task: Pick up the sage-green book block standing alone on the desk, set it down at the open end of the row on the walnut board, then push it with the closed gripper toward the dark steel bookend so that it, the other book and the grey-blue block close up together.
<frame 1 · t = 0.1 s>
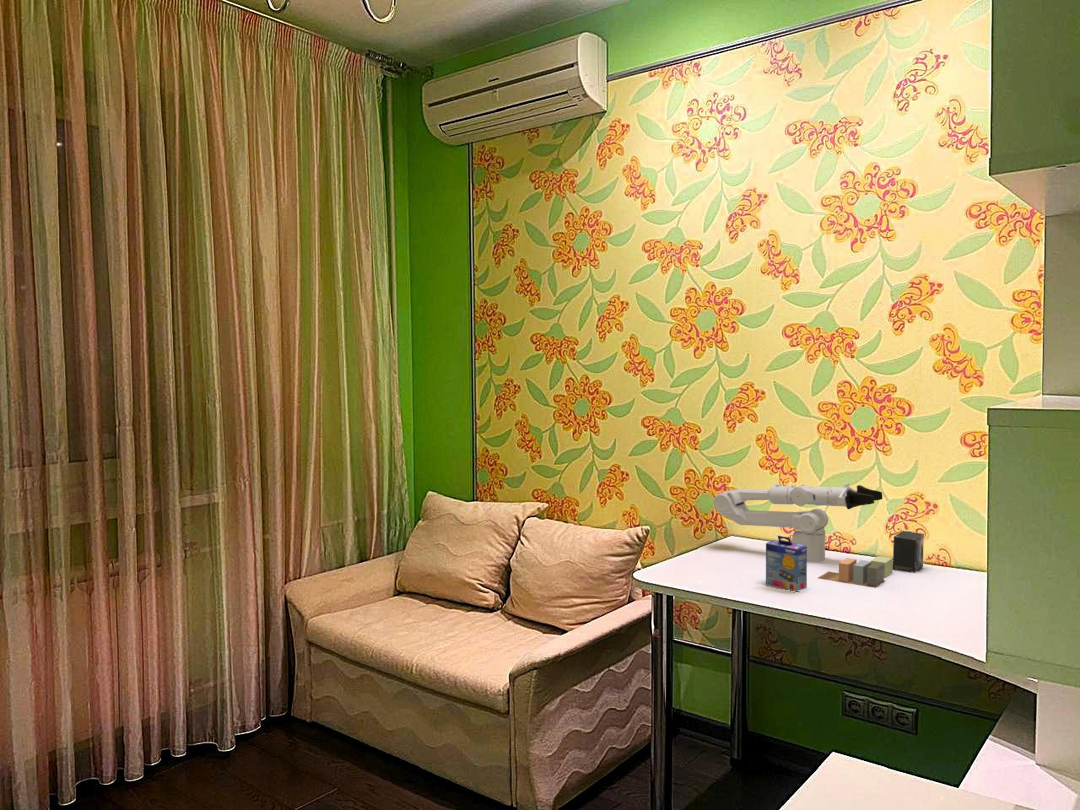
hand: (877, 497, 242), 22 cm above the table, tool horizontal, fingers open, 7 cm apart
steel bookend: (875, 583, 228), point 1 cm above the table, touching walnut board
sage book: (881, 576, 237), on the table
terracotta book: (847, 578, 233), point 1 cm above the table, touching walnut board
small box: (908, 570, 244), on the table
ink cartridge box: (785, 588, 226), on the table
walnut board: (851, 581, 232), on the table
grey-blue block: (862, 581, 230), point 1 cm above the table, touching walnut board
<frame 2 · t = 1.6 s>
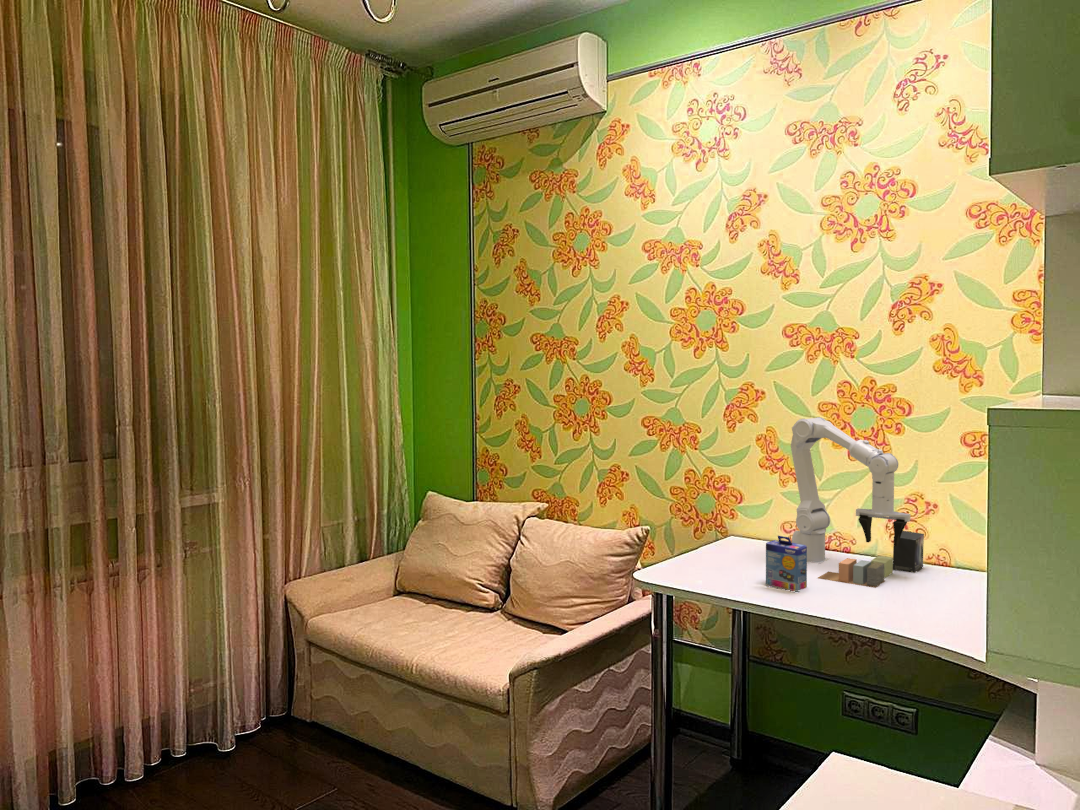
hand: (882, 543, 237), 9 cm above the table, tool pointing down, fingers open, 7 cm apart
nothing on the table moved.
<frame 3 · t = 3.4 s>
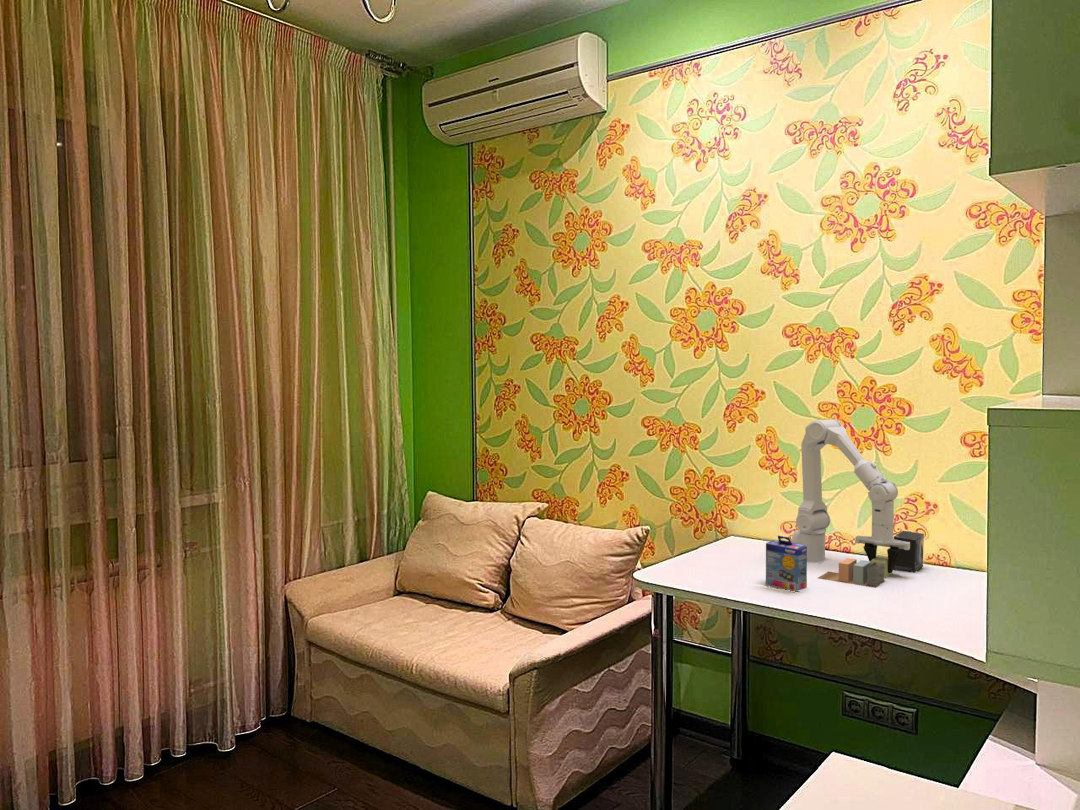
hand: (881, 571, 237), 1 cm above the table, tool pointing down, fingers closed on sage book, 4 cm apart
sage book: (881, 576, 237), on the table, touching gripper
everything else where it was.
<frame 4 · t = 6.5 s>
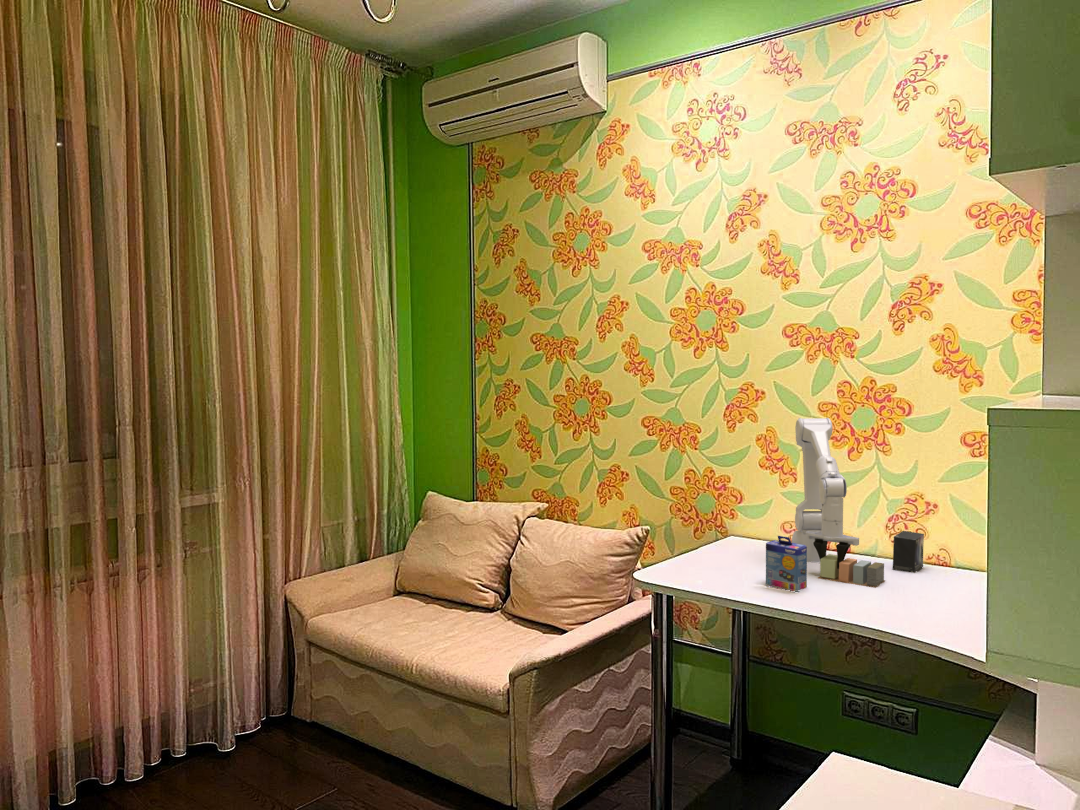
hand: (831, 567, 235), 3 cm above the table, tool pointing down, fingers closed on sage book, 4 cm apart
sage book: (831, 574, 236), point 1 cm above the table, touching gripper
terracotta book: (847, 578, 233), point 1 cm above the table, touching gripper, walnut board
everything else where it was.
when the fingers open (3 cm above the table, at t = 7.4 s): sage book stays where it is, resting on walnut board.
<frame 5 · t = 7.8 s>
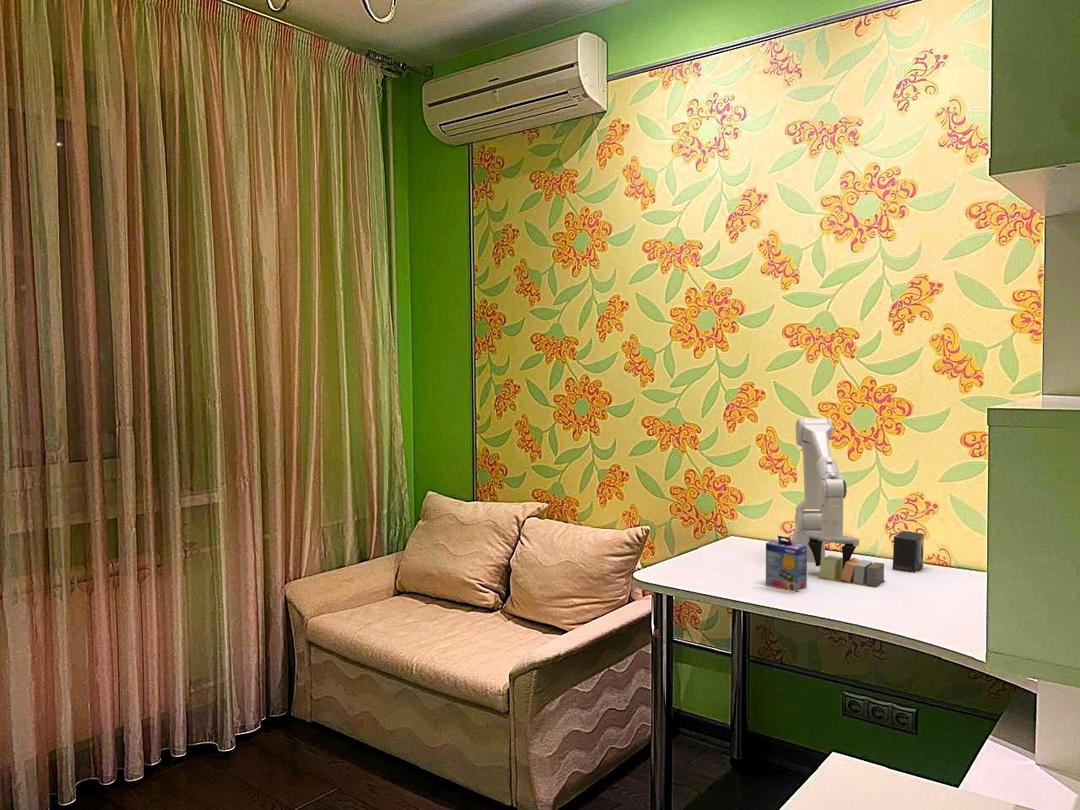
hand: (831, 567, 235), 3 cm above the table, tool pointing down, fingers open, 7 cm apart
sage book: (831, 576, 236), point 1 cm above the table, touching walnut board
terracotta book: (849, 577, 232), point 1 cm above the table, tilted 15°, touching grey-blue block, gripper, walnut board
grey-blue block: (862, 580, 230), point 1 cm above the table, touching terracotta book, walnut board
everything else where it was.
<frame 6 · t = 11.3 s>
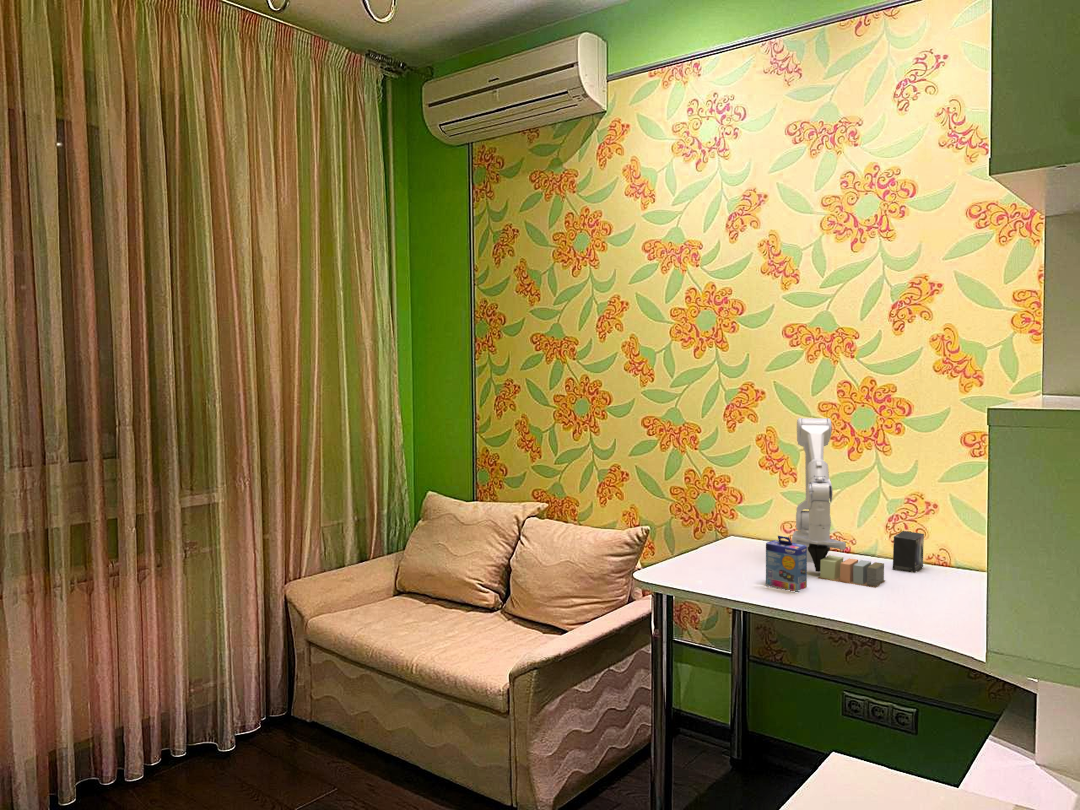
hand: (818, 570, 238), 2 cm above the table, tool pointing down, fingers closed, pressing on sage book
sage book: (831, 576, 236), point 1 cm above the table, touching gripper, walnut board
terracotta book: (849, 579, 232), point 1 cm above the table, touching walnut board
grey-blue block: (862, 581, 230), point 1 cm above the table, touching walnut board
everything else where it was.
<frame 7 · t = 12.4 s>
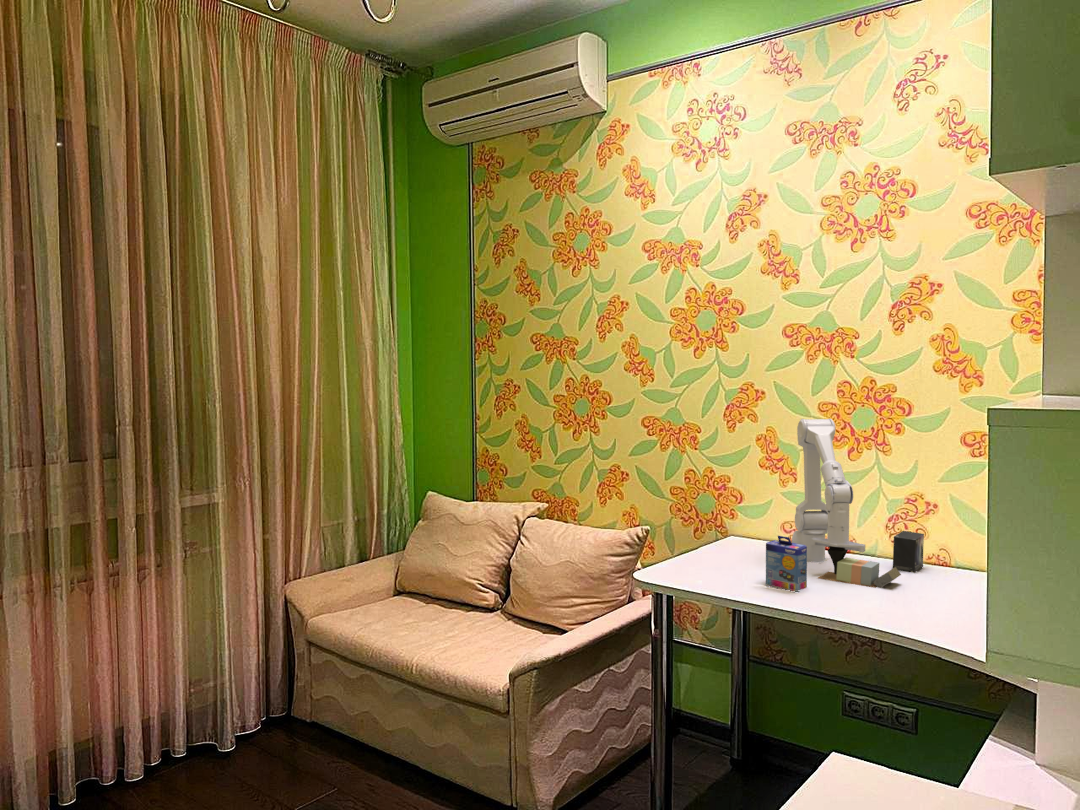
hand: (837, 573, 234), 2 cm above the table, tool pointing down, fingers closed
steel bookend: (879, 582, 227), point 1 cm above the table, tilted 51°, touching walnut board
sage book: (847, 578, 233), point 1 cm above the table, touching gripper, terracotta book, walnut board
terracotta book: (859, 580, 230), point 1 cm above the table, touching grey-blue block, sage book, walnut board
grey-blue block: (869, 582, 229), point 1 cm above the table, touching terracotta book, walnut board
everything else where it was.
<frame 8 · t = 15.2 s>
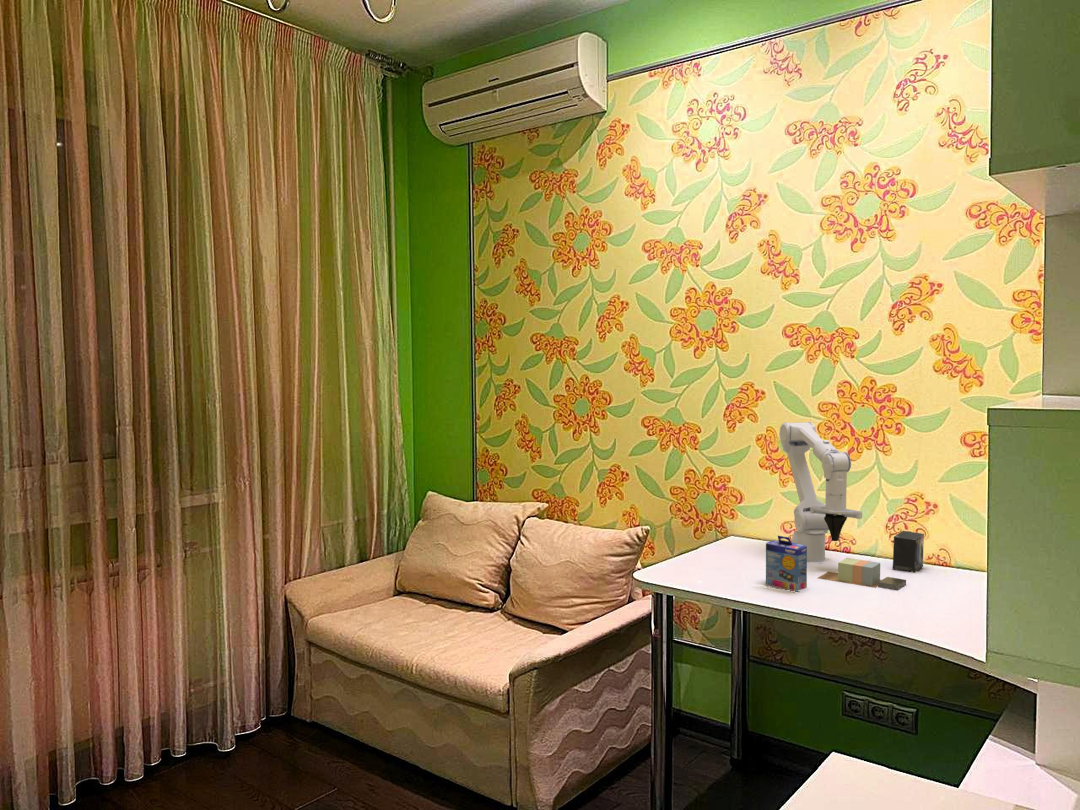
hand: (835, 540, 241), 9 cm above the table, tool pointing down, fingers closed
steel bookend: (882, 583, 227), point 1 cm above the table, tilted 90°
sage book: (849, 578, 233), point 1 cm above the table, touching walnut board
terracotta book: (861, 580, 230), point 1 cm above the table, touching walnut board
grey-blue block: (871, 582, 229), point 1 cm above the table, touching walnut board
everything else where it was.
at the end: sage book 0.4 cm from the target spot on the table beside the terracotta book, resting on walnut board; terracotta book 0.4 cm from the target spot on the table beside the grey-blue block, resting on walnut board; grey-blue block 0.2 cm from the target spot on the table beside the steel bookend, resting on walnut board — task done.
